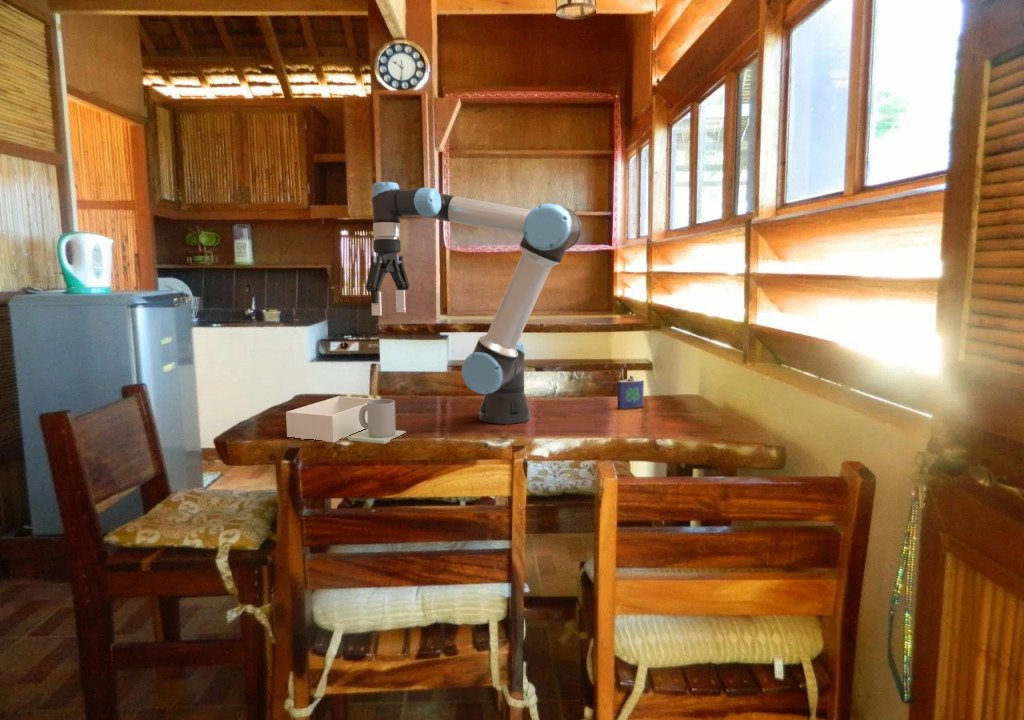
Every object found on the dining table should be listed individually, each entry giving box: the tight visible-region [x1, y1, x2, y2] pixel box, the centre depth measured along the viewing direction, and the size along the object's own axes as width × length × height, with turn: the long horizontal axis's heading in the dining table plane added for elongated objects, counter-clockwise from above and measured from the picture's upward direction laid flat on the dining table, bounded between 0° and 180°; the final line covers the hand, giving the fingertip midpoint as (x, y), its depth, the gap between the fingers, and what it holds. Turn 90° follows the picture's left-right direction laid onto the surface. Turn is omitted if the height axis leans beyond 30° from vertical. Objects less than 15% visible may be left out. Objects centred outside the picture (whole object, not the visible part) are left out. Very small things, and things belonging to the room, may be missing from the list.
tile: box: [347, 429, 407, 445], centre depth 182 cm, size 11×11×1 cm
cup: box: [359, 398, 397, 438], centre depth 181 cm, size 7×10×9 cm
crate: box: [285, 395, 377, 443], centre depth 190 cm, size 15×24×7 cm, turn 159°
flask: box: [617, 374, 645, 411], centre depth 216 cm, size 9×3×11 cm, turn 112°
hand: (389, 313), depth 196 cm, fingers open, 13 cm apart
